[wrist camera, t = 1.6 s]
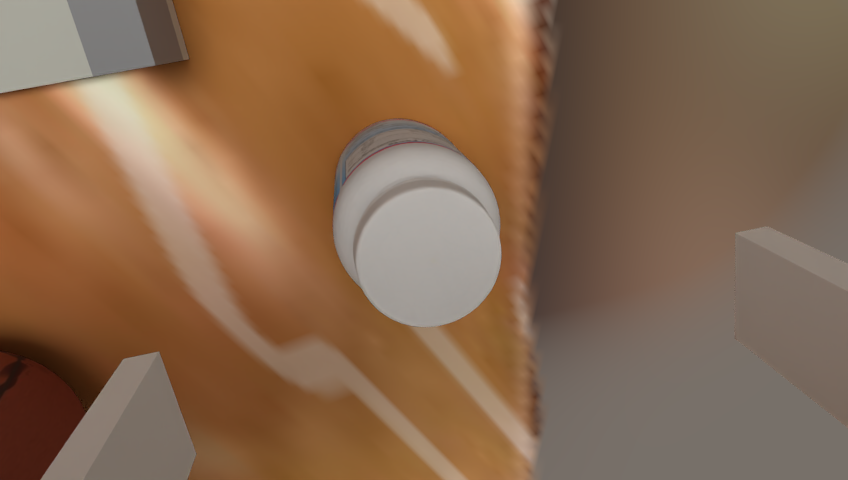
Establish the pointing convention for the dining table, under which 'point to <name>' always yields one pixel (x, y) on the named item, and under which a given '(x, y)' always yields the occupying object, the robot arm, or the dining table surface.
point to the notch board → (84, 39)
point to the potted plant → (33, 417)
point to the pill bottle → (415, 223)
